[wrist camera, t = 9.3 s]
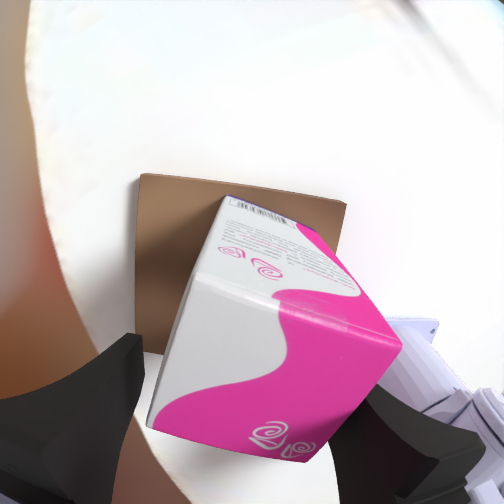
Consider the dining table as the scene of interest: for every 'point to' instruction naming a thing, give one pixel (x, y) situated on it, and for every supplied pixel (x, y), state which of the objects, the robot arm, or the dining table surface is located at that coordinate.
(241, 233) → the supplement box
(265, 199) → the cardboard square
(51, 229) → the dining table surface
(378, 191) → the dining table surface
